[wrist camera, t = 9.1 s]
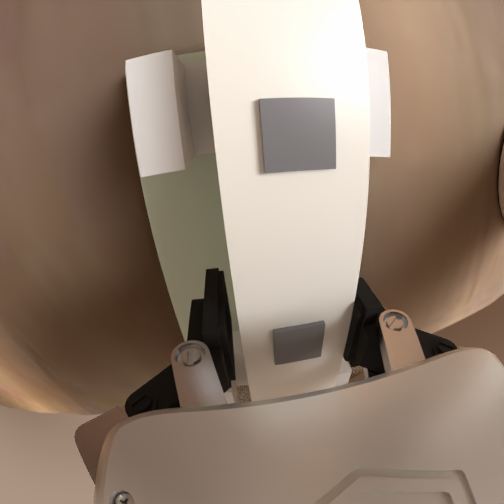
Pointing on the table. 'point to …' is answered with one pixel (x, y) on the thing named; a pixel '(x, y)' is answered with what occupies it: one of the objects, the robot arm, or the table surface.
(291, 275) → the power strip
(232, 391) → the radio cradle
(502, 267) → the table surface
